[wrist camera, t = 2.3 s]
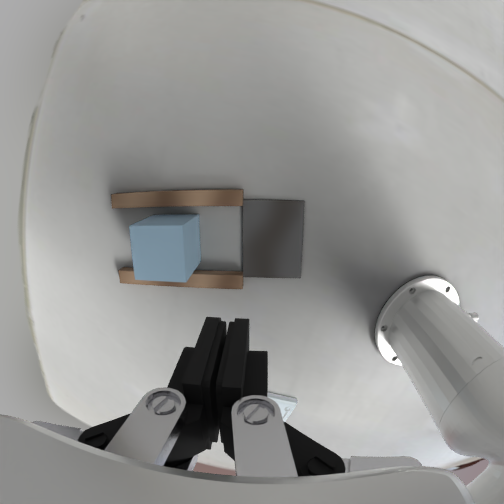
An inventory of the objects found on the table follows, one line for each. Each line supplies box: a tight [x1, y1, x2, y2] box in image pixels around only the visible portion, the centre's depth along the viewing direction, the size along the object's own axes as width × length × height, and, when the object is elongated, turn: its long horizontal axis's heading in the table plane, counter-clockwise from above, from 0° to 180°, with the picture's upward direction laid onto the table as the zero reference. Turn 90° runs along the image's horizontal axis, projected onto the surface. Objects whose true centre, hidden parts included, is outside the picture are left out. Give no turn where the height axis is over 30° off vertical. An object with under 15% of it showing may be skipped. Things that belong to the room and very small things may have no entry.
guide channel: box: [111, 189, 304, 289], centre depth 29 cm, size 20×10×1 cm, turn 90°
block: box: [129, 214, 201, 282], centre depth 27 cm, size 5×5×6 cm
